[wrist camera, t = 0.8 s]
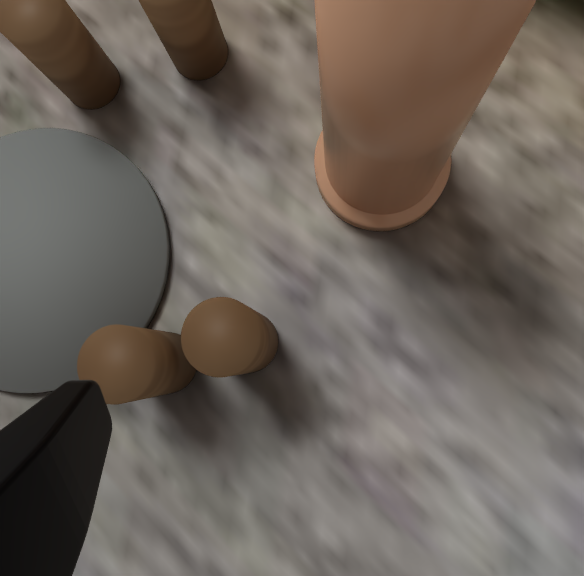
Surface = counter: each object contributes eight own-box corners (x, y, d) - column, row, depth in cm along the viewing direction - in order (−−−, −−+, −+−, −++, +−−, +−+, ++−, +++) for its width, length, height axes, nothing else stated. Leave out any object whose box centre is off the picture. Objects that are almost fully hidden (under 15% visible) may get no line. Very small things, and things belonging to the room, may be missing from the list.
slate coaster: (204, 338, 21) (201, 338, 21) (-51, 430, 21) (-58, 431, 21) (126, 95, 23) (122, 90, 22) (-109, 184, 23) (-117, 181, 23)
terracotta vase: (465, 204, 21) (722, -102, 7) (341, 249, 21) (349, 38, 7) (417, 88, 22) (561, -392, 8) (297, 133, 22) (230, -260, 8)
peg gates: (335, 343, 20) (334, 338, 16) (150, 409, 21) (91, 425, 16) (214, 9, 23) (180, -87, 18) (49, 72, 23) (-29, -5, 18)
